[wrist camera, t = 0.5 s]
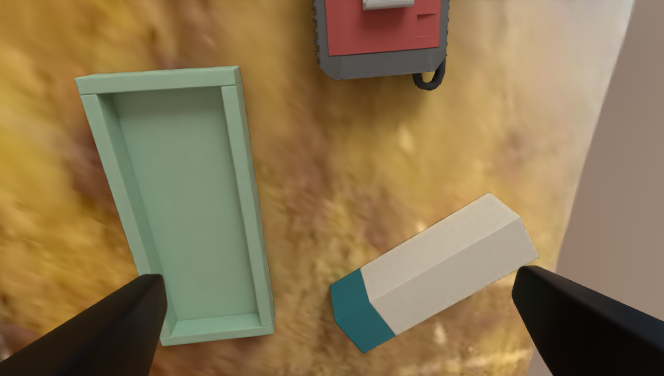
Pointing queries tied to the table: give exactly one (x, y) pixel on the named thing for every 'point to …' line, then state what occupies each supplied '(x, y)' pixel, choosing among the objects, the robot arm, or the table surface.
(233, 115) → the pen tray
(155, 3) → the table surface
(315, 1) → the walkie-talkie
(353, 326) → the beige and teal block
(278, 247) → the table surface
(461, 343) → the table surface
